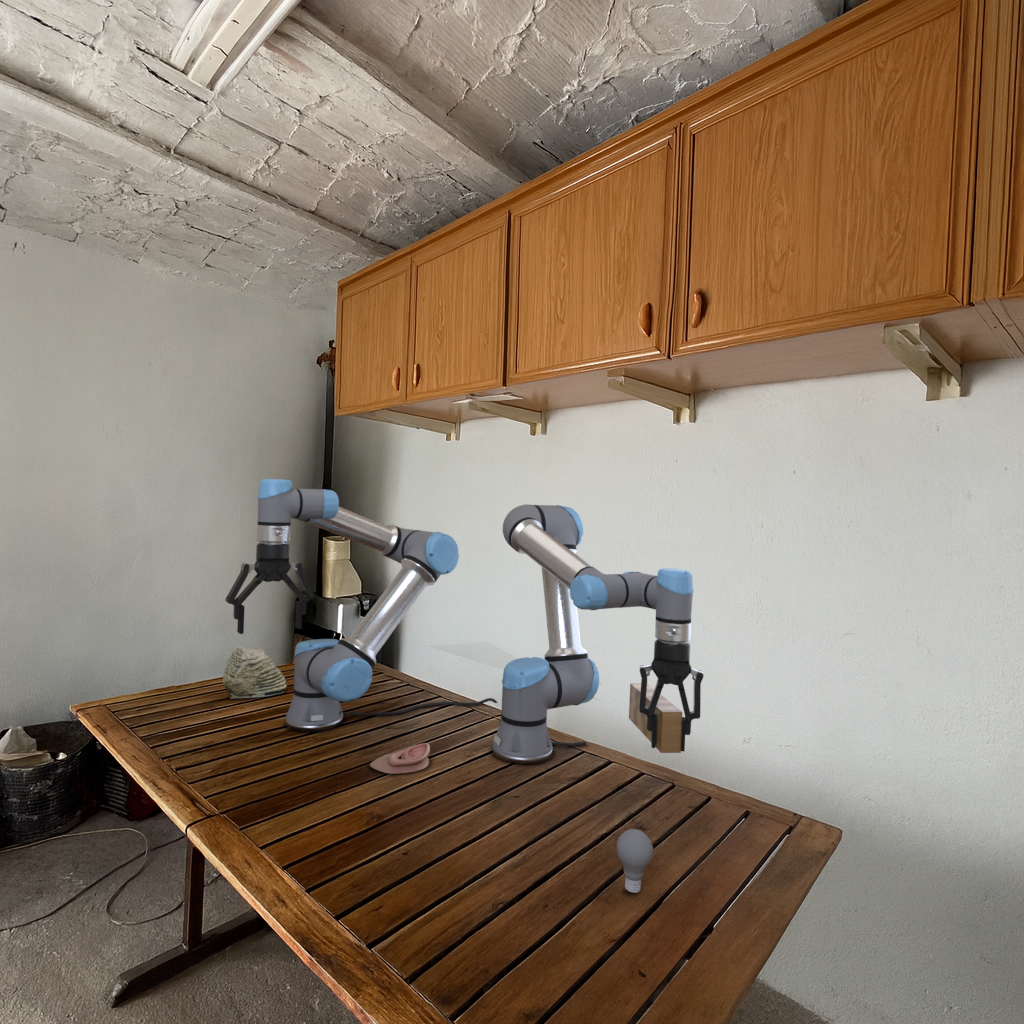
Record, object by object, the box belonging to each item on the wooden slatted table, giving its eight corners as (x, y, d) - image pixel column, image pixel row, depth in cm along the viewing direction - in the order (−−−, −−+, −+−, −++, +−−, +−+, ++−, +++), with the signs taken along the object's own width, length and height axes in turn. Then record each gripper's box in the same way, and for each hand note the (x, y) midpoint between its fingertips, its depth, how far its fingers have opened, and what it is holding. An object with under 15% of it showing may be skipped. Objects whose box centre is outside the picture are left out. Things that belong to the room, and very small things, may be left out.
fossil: (218, 695, 195) (220, 647, 195) (278, 685, 208) (279, 640, 207) (228, 703, 189) (230, 653, 188) (289, 692, 201) (290, 645, 201)
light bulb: (610, 879, 108) (613, 822, 108) (644, 879, 109) (647, 822, 109) (619, 902, 102) (622, 840, 102) (655, 901, 103) (658, 840, 103)
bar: (628, 718, 158) (630, 683, 158) (645, 718, 158) (647, 683, 158) (661, 753, 135) (662, 712, 135) (680, 752, 136) (682, 712, 136)
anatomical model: (364, 753, 147) (384, 735, 158) (364, 770, 147) (383, 751, 158) (419, 760, 144) (435, 742, 155) (418, 778, 144) (434, 758, 156)
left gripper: (221, 544, 142) (217, 638, 143) (329, 543, 157) (326, 628, 158) (214, 541, 149) (210, 631, 149) (318, 541, 163) (315, 623, 164)
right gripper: (628, 640, 135) (624, 748, 135) (719, 648, 131) (714, 759, 132) (629, 633, 142) (624, 736, 143) (714, 640, 139) (709, 745, 139)
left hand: (270, 630), depth 153 cm, fingers open, 13 cm apart
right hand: (667, 747), depth 137 cm, fingers closed on bar, 5 cm apart
